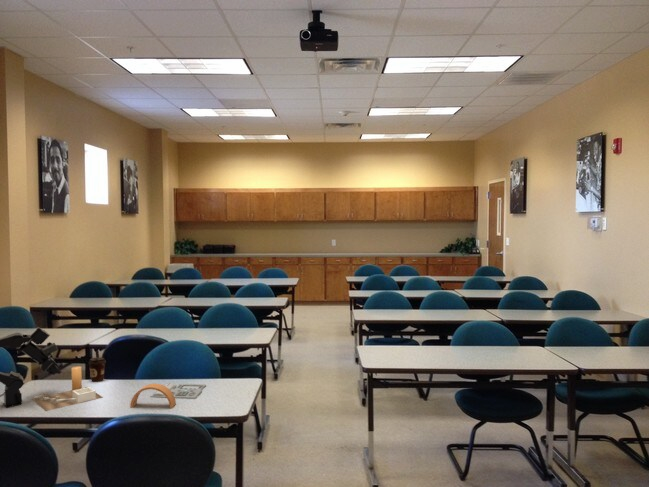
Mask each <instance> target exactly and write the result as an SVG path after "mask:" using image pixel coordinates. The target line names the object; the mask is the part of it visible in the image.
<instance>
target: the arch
mask: <svg viewBox="0 0 649 487" xmlns="http://www.w3.org/2000/svg"><path fill="white" fill-rule="evenodd" d="M149 390H153V391H160V392H161V393H163V394H164V395H165V396H166V398H165V399H167V401H168V404H169V408H170V409H173V408H174V407H175V406H176V405H177V402H176V398H175V397H174V395H173V393H172V392H171V391H170V390H169V389H168V388H167V387H165V385H164V384H160V383H149V384H146V385H145V386H143V387H141V388H140V389H139V390H138V391H137V392H136V393H135V394H134V395H133V397H132V398H131V401H130V404H129V405H130V406H129V407H130V408H134V407H135V406H136V405H137V404H138V398H139V396H140V394H141V393H142V392H144V391H149Z"/></svg>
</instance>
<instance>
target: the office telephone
mask: <svg viewBox="0 0 649 487" xmlns="http://www.w3.org/2000/svg"><path fill="white" fill-rule="evenodd" d="M164 386H165V387H167V388H168V389H169V390H170V391H171V392H172V393H173V395H174V397H175V399H186V400H195V398H196V399H197V398H198V397H199V396H200V395H201V394H202V391H203V389H205V388H206V387H207V384H199V383H198V384H197V383H180V384H178V385H176V384H174V383H166V384H165V385H164ZM184 387H185V388H184ZM187 387H190V388H187ZM193 387H196V388H193ZM198 395H199V396H198ZM197 396H198V397H197ZM149 397H150V398H157V399H158V398H159V399H160V398H161V399H167V398H166V396H165V395H164V394H163V393H161V392H160V391H157V390H155V392H154V393H152V394H151V395H150V396H149Z"/></svg>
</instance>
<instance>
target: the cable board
mask: <svg viewBox="0 0 649 487" xmlns="http://www.w3.org/2000/svg"><path fill="white" fill-rule="evenodd" d="M87 387H88V386H84V387H82V389H83V388H87ZM103 398H104V397H103V396H102V395H100V394H98V393H97V392H96V399H93V400H89V401H85V402H81V403H80V404H82V403H87V402H92V401H94V400H95V401H96V400H99V399H103ZM31 400H32V401H33V402H35V404H36V405H38V406H39V407H40V408H41V409H42V410H44V411H45V412H48V411H53V410H57V409H62V408H65V407H70V406H73V405H78V404H79V403H78V402H76V399H75V398H73V397H72V389H71V390H67V391H63V392H59V393H58V392H57V393H54V394H50V395H49V393H48V392H44V393H43V394H39V395H37V396H36V395H35V396H34V398H32V399H31Z"/></svg>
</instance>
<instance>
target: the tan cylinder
mask: <svg viewBox="0 0 649 487" xmlns="http://www.w3.org/2000/svg"><path fill="white" fill-rule="evenodd" d="M82 378H83V377H82V366H78V365H77V366H72V367H71V390H72V391H74V390H78V389H82V388H83V385H82V384H83V383H82V382H83V381H82Z"/></svg>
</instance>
